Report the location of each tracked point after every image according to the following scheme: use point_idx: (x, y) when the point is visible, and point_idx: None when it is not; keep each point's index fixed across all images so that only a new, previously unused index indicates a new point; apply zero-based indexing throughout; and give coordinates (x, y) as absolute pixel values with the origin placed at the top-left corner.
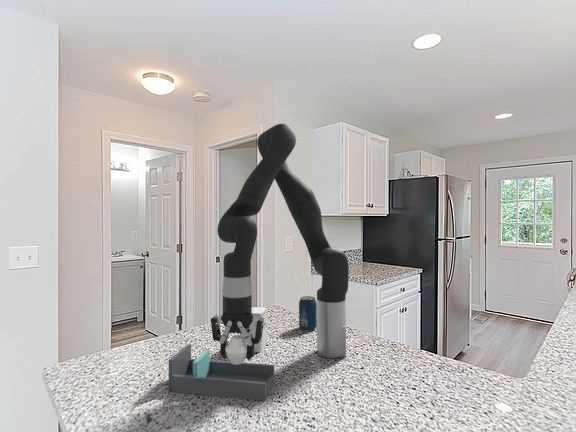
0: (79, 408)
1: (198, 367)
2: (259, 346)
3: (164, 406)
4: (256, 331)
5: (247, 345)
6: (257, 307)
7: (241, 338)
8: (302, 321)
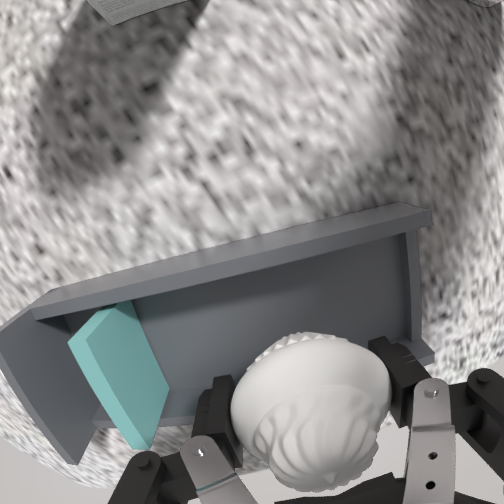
0: (43, 455)
1: (150, 423)
2: None
3: (156, 442)
4: (499, 468)
5: (399, 423)
6: None
7: (369, 466)
8: None
